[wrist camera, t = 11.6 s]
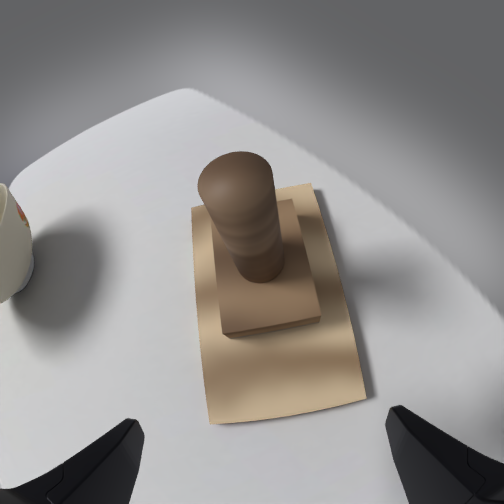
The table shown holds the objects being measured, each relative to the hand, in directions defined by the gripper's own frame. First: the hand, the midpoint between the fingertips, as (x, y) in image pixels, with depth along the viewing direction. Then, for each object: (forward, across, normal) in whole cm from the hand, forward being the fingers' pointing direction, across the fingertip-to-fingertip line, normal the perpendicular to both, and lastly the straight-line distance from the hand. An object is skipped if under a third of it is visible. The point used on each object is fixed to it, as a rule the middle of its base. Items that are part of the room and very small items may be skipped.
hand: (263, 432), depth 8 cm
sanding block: (+16, 0, -1) cm, 16 cm away
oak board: (+16, -1, +1) cm, 16 cm away
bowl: (+22, +33, 0) cm, 40 cm away
